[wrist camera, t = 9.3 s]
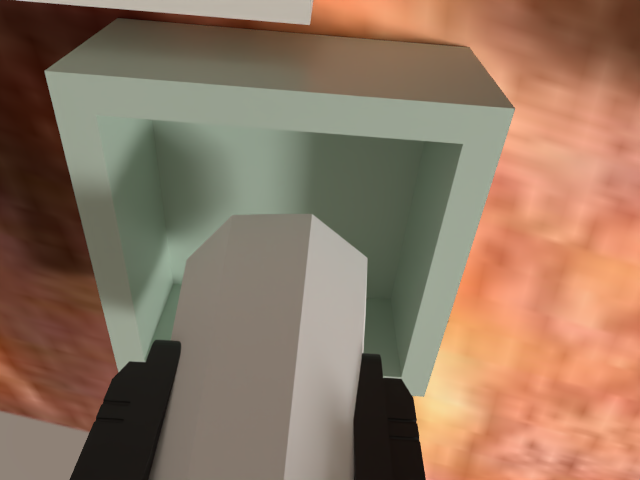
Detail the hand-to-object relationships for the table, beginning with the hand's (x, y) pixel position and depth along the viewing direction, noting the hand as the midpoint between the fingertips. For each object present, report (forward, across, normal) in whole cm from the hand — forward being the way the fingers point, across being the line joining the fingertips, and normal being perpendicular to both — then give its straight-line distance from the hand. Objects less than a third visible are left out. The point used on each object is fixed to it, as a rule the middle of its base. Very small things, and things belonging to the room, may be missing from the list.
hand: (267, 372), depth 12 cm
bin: (+9, 0, 0) cm, 9 cm away
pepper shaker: (+3, 0, 0) cm, 3 cm away
